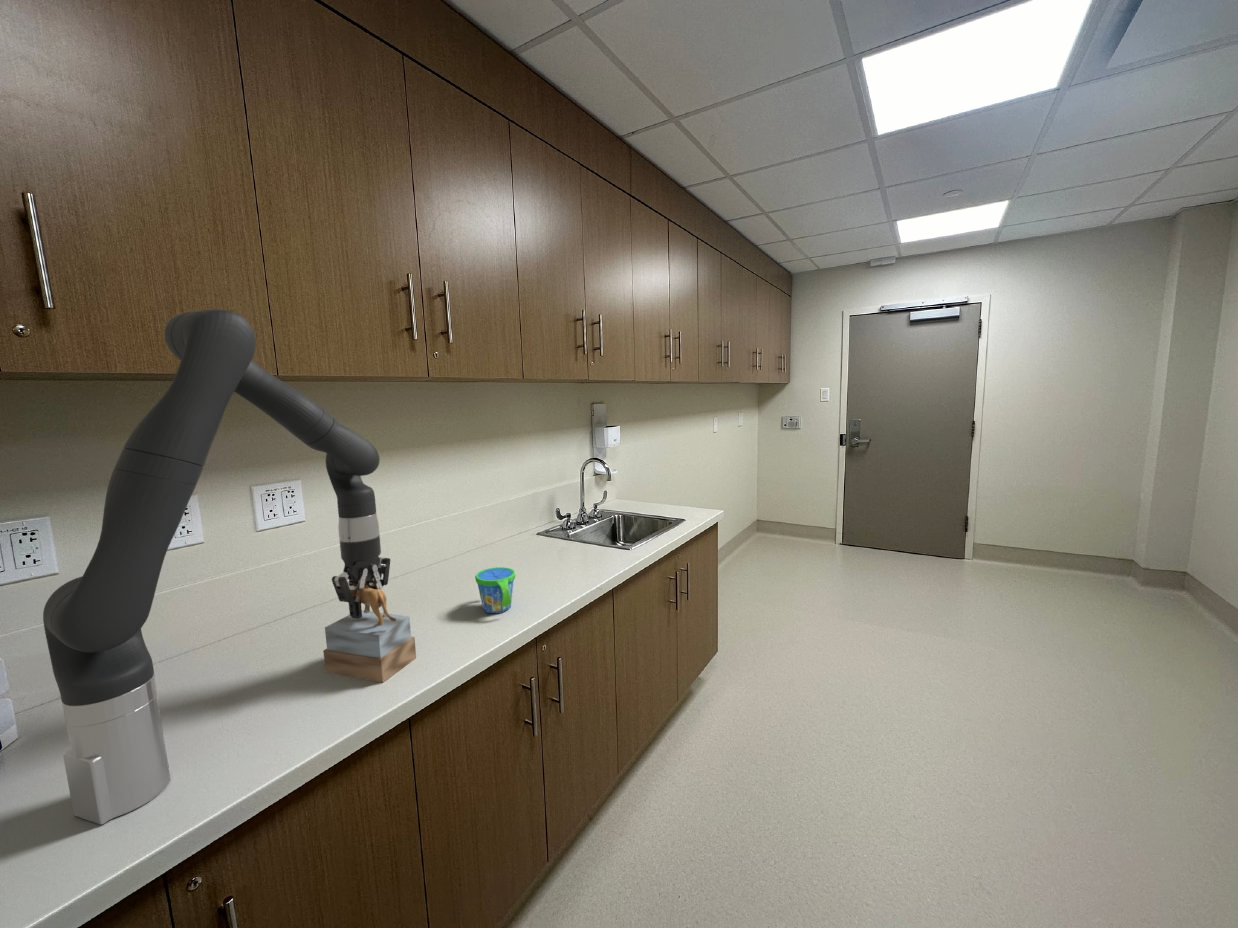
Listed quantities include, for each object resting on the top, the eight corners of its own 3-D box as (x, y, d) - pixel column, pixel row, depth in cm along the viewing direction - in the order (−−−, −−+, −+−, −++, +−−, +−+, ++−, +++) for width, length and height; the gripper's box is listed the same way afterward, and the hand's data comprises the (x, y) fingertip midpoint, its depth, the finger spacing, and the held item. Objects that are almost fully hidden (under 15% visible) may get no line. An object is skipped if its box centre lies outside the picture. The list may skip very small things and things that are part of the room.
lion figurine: (335, 618, 105) (331, 577, 104) (356, 608, 110) (353, 569, 109) (386, 628, 99) (383, 585, 98) (407, 617, 104) (404, 577, 103)
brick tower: (383, 682, 100) (378, 636, 99) (325, 672, 104) (320, 628, 103) (416, 657, 110) (412, 615, 108) (362, 649, 114) (358, 608, 113)
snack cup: (524, 615, 131) (522, 578, 129) (484, 624, 126) (482, 586, 125) (508, 595, 144) (506, 562, 143) (472, 602, 140) (470, 568, 138)
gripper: (346, 546, 95) (353, 629, 98) (398, 528, 109) (404, 601, 111) (316, 543, 98) (324, 625, 100) (371, 526, 111) (377, 598, 113)
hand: (366, 612), depth 105 cm, fingers closed on lion figurine, 4 cm apart
